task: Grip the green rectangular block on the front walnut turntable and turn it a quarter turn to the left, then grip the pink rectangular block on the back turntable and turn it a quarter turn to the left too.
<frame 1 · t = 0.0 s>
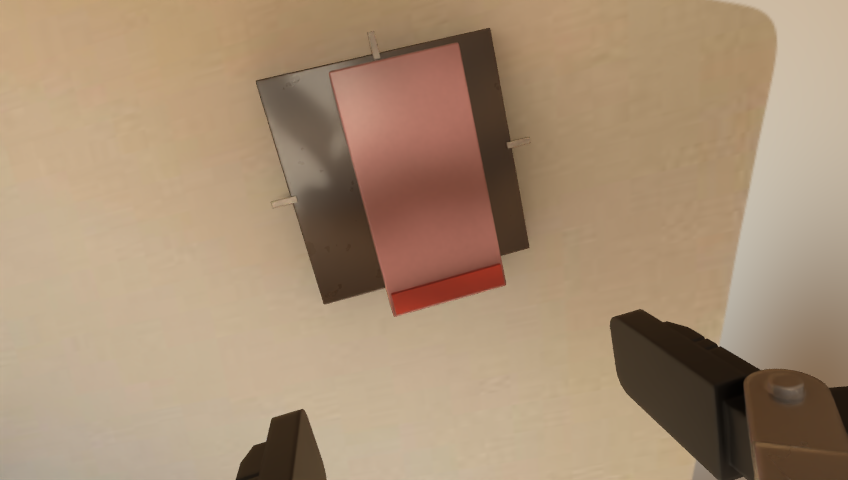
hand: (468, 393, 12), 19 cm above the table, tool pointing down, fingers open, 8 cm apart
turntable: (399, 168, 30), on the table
pink rectangular block: (413, 178, 25), point 6 cm above the table, hinge at 0.0°
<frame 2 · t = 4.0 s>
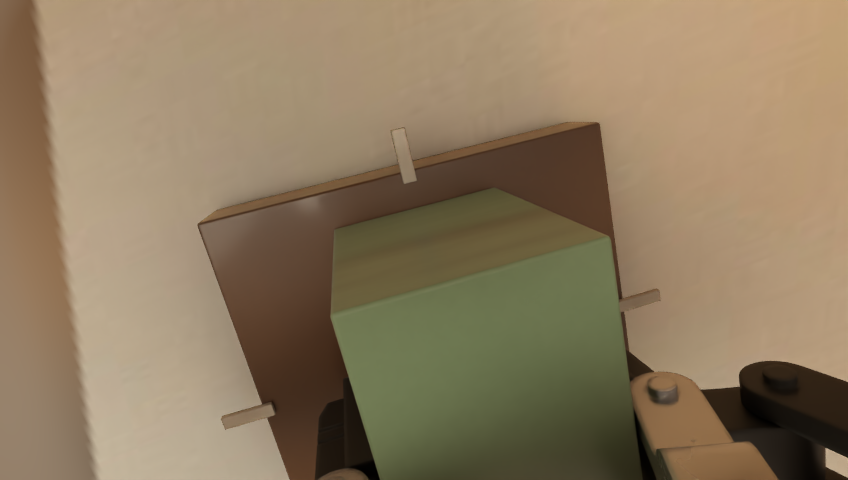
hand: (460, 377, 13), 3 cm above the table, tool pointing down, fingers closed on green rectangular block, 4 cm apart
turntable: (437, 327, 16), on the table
green rectangular block: (480, 416, 11), point 5 cm above the table, hinge at 0.1°, touching gripper
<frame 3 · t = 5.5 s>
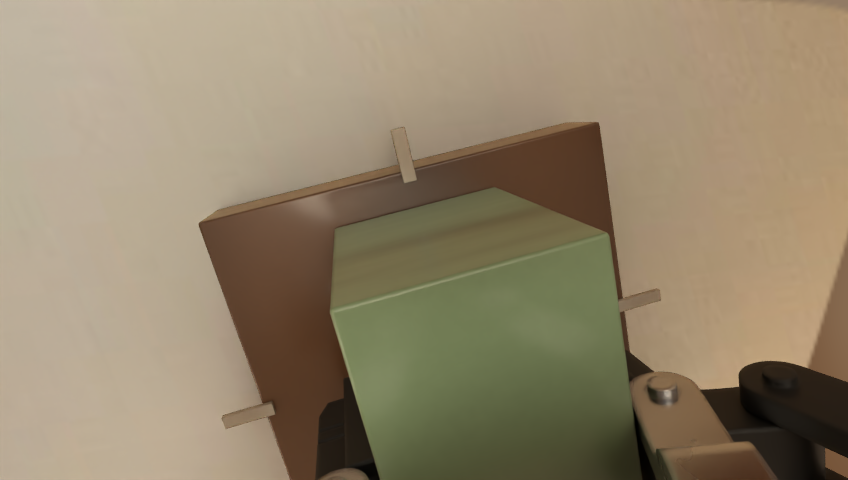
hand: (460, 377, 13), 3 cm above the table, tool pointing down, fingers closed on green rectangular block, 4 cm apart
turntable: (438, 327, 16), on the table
green rectangular block: (480, 415, 11), point 5 cm above the table, hinge at 89.9°, touching gripper
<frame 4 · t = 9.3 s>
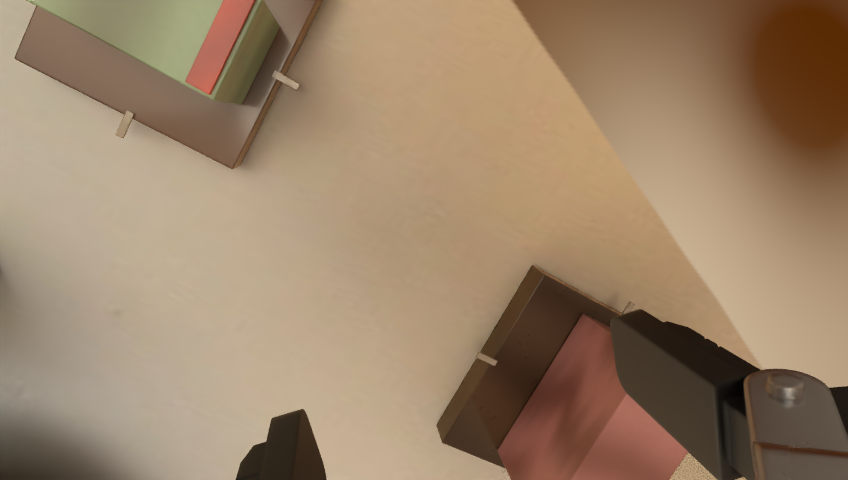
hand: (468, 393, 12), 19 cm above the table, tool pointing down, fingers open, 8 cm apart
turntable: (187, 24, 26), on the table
green rectangular block: (152, 2, 21), point 5 cm above the table, hinge at 90.0°
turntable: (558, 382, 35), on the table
pink rectangular block: (598, 430, 30), point 6 cm above the table, hinge at 0.0°
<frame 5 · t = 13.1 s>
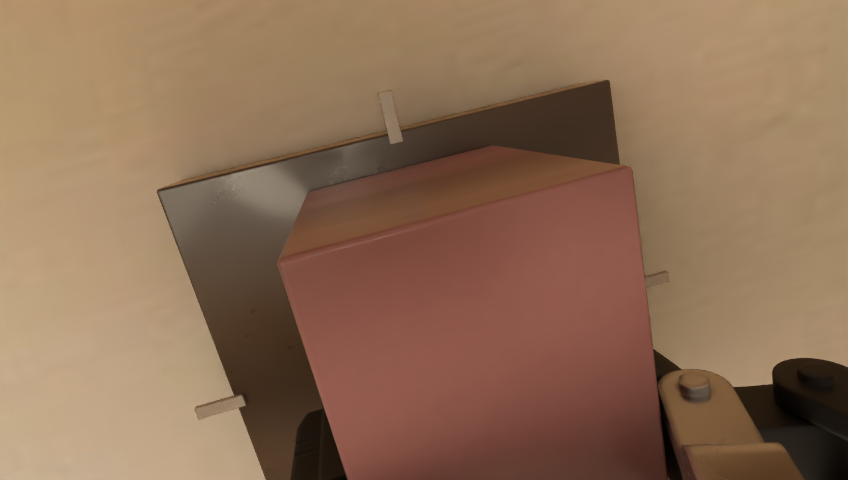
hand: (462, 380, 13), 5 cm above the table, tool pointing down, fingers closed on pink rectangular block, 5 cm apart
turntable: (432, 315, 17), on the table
pink rectangular block: (474, 404, 12), point 6 cm above the table, hinge at 0.0°, touching gripper
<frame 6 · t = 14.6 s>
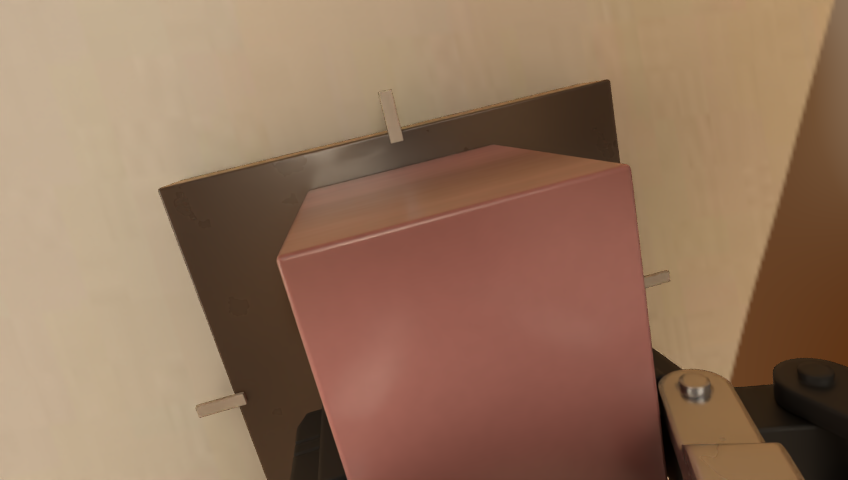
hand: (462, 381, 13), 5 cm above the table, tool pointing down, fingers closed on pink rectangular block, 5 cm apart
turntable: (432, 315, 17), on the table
pink rectangular block: (474, 403, 12), point 6 cm above the table, hinge at 90.0°, touching gripper
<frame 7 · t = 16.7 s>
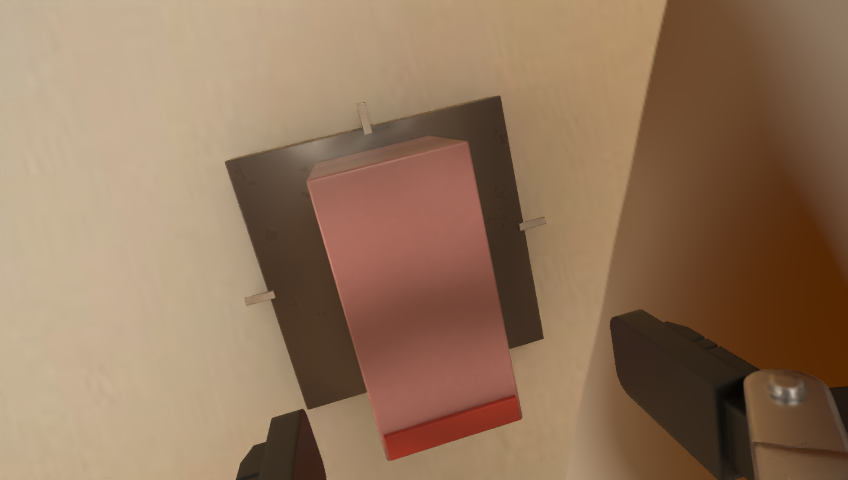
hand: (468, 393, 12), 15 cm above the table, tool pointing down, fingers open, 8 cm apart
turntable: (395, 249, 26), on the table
pink rectangular block: (411, 282, 21), point 6 cm above the table, hinge at 89.8°
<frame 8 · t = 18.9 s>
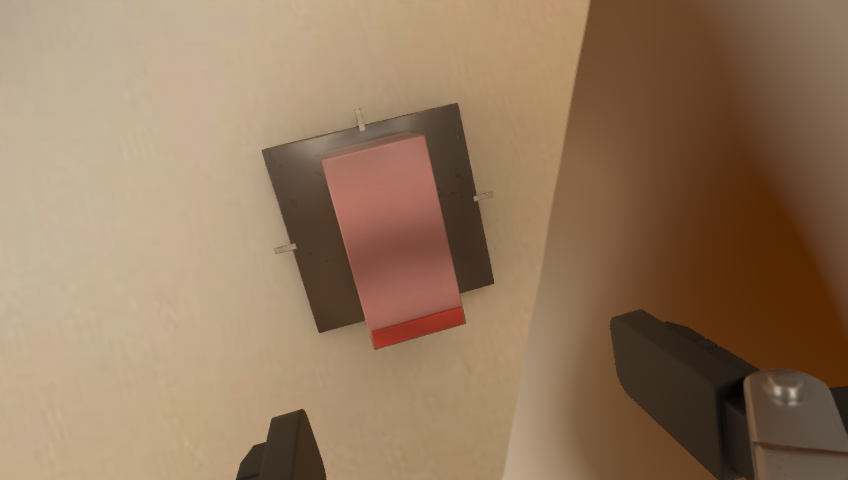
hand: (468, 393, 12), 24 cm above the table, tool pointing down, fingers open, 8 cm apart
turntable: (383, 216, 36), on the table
pink rectangular block: (391, 233, 30), point 6 cm above the table, hinge at 89.8°
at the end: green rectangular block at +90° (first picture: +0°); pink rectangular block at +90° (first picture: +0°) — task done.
